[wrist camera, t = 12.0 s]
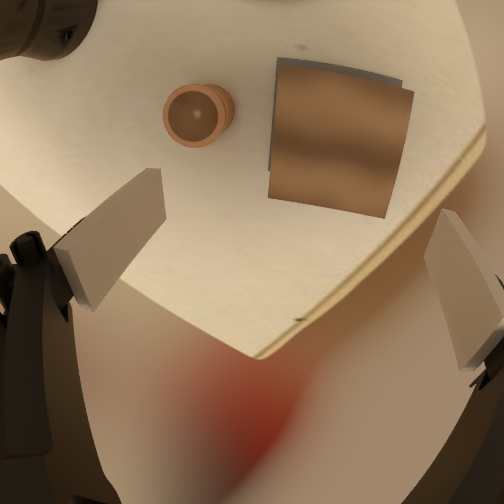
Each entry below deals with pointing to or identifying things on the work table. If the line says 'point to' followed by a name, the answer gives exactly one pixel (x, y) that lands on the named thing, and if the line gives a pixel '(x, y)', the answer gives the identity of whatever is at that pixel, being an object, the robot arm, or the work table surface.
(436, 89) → the work table surface
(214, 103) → the pot
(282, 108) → the wooden stool
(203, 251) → the work table surface
